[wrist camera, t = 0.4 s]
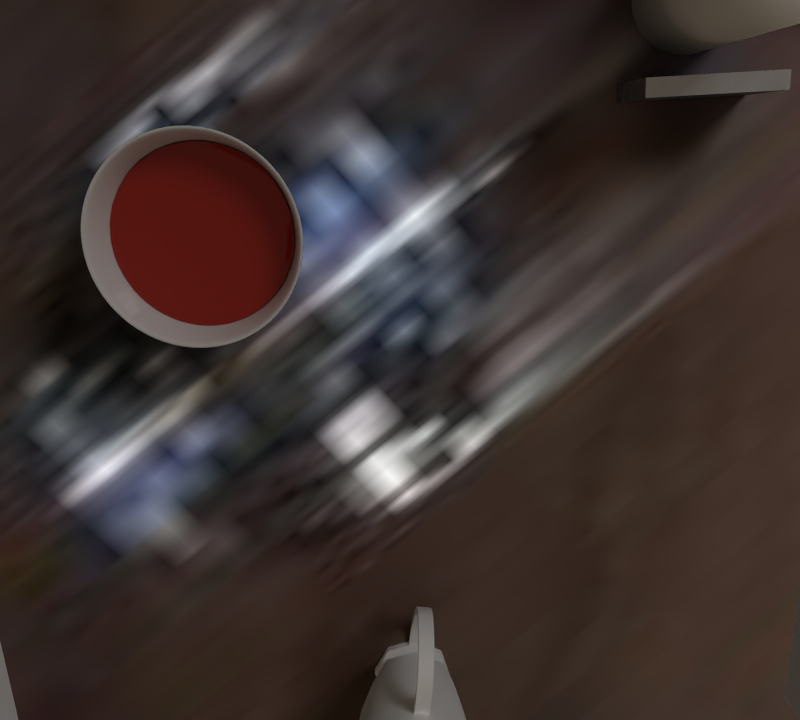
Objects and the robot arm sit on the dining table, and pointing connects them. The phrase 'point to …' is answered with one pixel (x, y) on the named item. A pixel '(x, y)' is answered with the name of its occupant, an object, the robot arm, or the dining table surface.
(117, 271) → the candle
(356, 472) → the dining table surface
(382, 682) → the cup
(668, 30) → the cream rounded capsule
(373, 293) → the dining table surface
